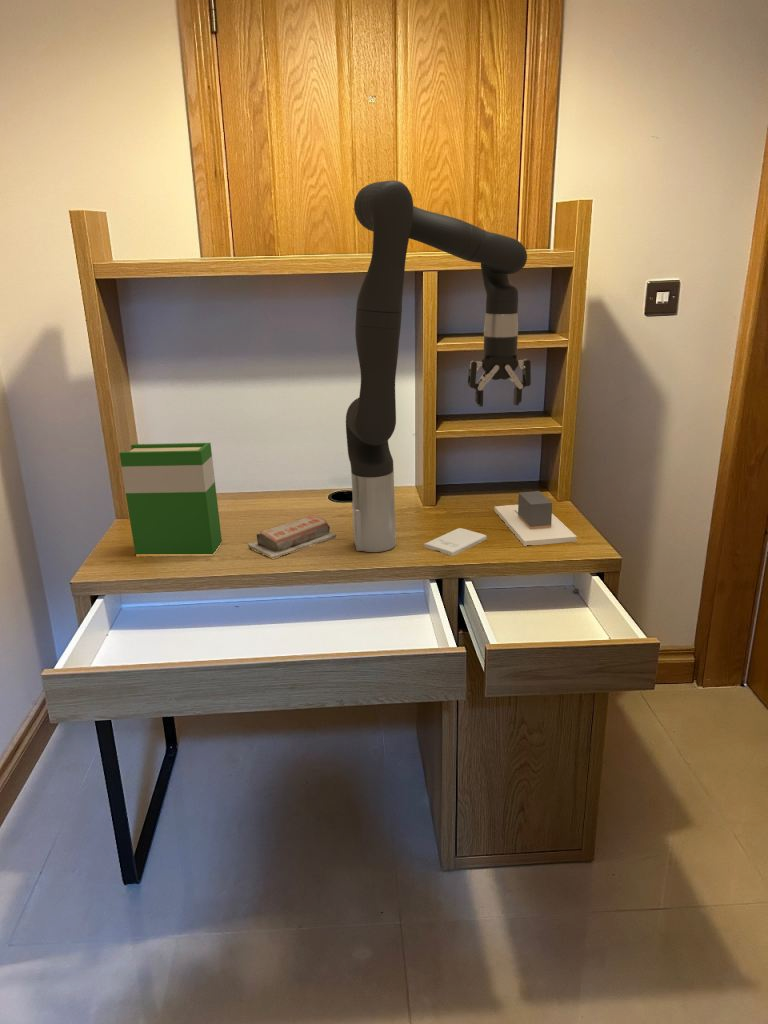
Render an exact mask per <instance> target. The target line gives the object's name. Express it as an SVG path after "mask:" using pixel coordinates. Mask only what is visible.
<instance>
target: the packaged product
mask: <svg viewBox="0 0 768 1024" xmlns="http://www.w3.org/2000/svg"><path fill="white" fill-rule="evenodd" d="M330 529H331V526H330V525H329V523H328V521H327V520H326V518H323V517H320V516H317V515H314V514H311V515H307V516H304V517H302V518H301V517H300V518H298V519H294V520H291V521H289V522H288V521H287V522H286V523H282V524H279V525H277V526H274V527H270V528H266V529H264V530H261V531H259V532H257V533H256V540H255V541H253V542H249V543H247V546H248V549H249V548H251V549H253V550H256V551H258V552H260V553H262V554H264V555H267V556H269V557H271V558H276V557H279V556H282V555H284V556H286V555H285V554H287V555H289V554H288V553H290V552H293V551H296V550H299V549H302V548H305V547H308V546H310V545H313V544H316V543H318V544H320V543H319V542H321V543H324V542H326V541H330V540H332V538H333V539H335V538H336V537H337V534H336V533H333V532H330V531H331V530H330ZM323 541H324V542H323ZM316 545H317V544H316ZM308 548H309V547H308ZM251 549H250V550H251ZM305 549H306V548H305ZM253 550H252V551H253ZM302 550H303V549H302ZM299 551H300V550H299ZM296 552H297V551H296ZM293 553H294V552H293ZM290 554H291V553H290ZM264 555H263V556H264ZM282 557H283V556H282Z"/></svg>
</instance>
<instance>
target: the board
mask: <svg viewBox="0 0 768 1024" xmlns="http://www.w3.org/2000/svg"><path fill="white" fill-rule="evenodd" d="M493 508H494V509H493V510H494V513H496V515H497V514H498V515H499V516H498V515H497V516H498V517H499V518H500V519H501V521H502V520H503V521H504V522H505V523H504V522H503V521H502V522H503V523H504V524H505V526H506V527H509V528H508V529H509V530H510V532H512V533H513V535H514V534H515V535H514V536H515V537H516V538H517V540H520V541H519V542H520V543H521V544H522V545H523V547H528V546H527V545H532V546H541V545H553V544H564V543H575V542H576V543H577V542H578V541H577V539H578V536H577V535H576V534H575V533H574V532H573V531H571V529H570V528H568V527H567V526H566V525H565V524H564V523H563V521H561V520H560V519H559V518H558V517H556V516H555V514H554V513H552V521H551V528H541V529H529V528H528V527H527V526H526V524H525V523H524V522H523V521H522V520H521V519H520V518H519V517H518V504H509V505H508V504H507V505H497V506H496V505H495V506H493Z"/></svg>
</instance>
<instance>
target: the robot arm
mask: <svg viewBox="0 0 768 1024" xmlns="http://www.w3.org/2000/svg"><path fill="white" fill-rule="evenodd" d="M353 204H354V205H353V206H354V207H353V210H354V215H355V217H356V219H357V221H358V222H359V224H360V225H361V226H362V227H363V228H365V229H366V230H369V231H370V232H372V234H373V235H372V237H373V238H372V253H371V259H370V263H369V265H368V269H367V272H366V274H365V277H364V279H363V281H362V283H361V287H360V289H359V293H358V295H357V302H356V308H355V309H356V311H355V324H354V325H355V326H354V330H355V336H354V337H355V345H356V351H357V358H358V363H359V369H360V385H359V386H360V387H359V388H360V389H359V395H358V396H359V397H357V398H356V399H354V400H353V401H352V402H351V403H350V404H349V406H348V408H347V411H346V414H345V433H346V443H347V444H346V445H347V454H348V455H347V456H348V459H349V464H350V471H351V474H350V475H351V488H352V489H351V490H352V491H351V493H352V503H351V506H352V509H351V510H352V511H351V512H352V513H351V514H352V529H353V530H352V532H353V542H354V547H355V549H356V552H366V553H381V552H387V551H389V550H392V549H393V548H395V547H396V546H397V534H396V531H397V529H396V506H395V505H396V504H395V503H396V501H395V475H394V473H395V472H394V458H393V455H392V454H391V450H390V447H389V446H390V445H389V440H390V439H391V437H392V436H393V434H394V432H395V430H396V425H397V408H396V407H397V405H396V402H397V401H396V376H397V367H398V366H397V365H398V359H399V358H398V357H399V349H400V347H399V344H400V337H401V329H402V325H401V324H402V316H403V315H402V312H403V310H402V309H403V293H404V284H405V270H406V259H407V252H408V247H409V241H410V240H412V241H415V242H419V243H422V244H424V245H427V246H429V247H433V248H434V249H437V250H439V251H442V252H445V253H447V254H449V255H452V256H454V257H456V258H459V259H462V260H464V261H467V262H471V263H479V264H480V270H481V275H482V280H483V286H484V290H485V293H486V294H485V295H486V300H485V301H486V302H485V318H484V325H483V326H484V327H483V357H482V360H481V361H475V360H473V359H472V360H470V361H469V363H468V373H467V374H468V375H467V386H468V387H470V388H471V389H474V390H475V395H474V396H475V398H474V399H475V400H474V401H475V403H476V404H477V406H478V407H480V408H481V407H484V390H483V389H484V388H485V386H486V385H487V384H489V382H490V381H491V380H493V381H497V380H504V381H505V380H508V379H509V380H510V382H512V384H513V385H514V388H513V401H512V404H513V405H515V406H519V405H520V403H522V398H523V397H522V396H523V389H524V388H526V387H529V386H531V384H532V381H531V380H532V375H531V368H532V367H531V360H530V359H528V358H523V359H518V337H519V336H518V335H519V319H518V318H519V317H518V316H519V315H518V311H519V291H518V288H517V287H516V286H514V285H512V284H511V283H510V280H509V276H508V275H513V274H516V273H518V272H520V271H521V270H523V269H524V267H526V266H525V265H526V264H527V260H528V253H527V250H526V247H525V246H524V244H523V243H522V242H520V241H519V240H518V239H515V238H513V237H509V236H507V235H503V234H499V233H495V232H490V231H488V230H485V229H483V228H481V227H478V226H476V225H473V224H472V223H469V222H467V221H465V220H462V219H459V218H457V217H453V216H449V215H444V214H440V213H436V212H433V211H429V210H425V209H423V208H420V207H417V206H415V205H414V200H413V196H412V194H411V191H410V189H409V188H408V187H407V186H406V184H404V182H402V181H400V180H383V181H377V182H372V183H370V184H369V183H368V184H367V185H366V186H365V185H364V187H362V188H361V189H360V190H359V191H358V193H357V194H356V195H355V199H354V203H353ZM480 367H481V368H482V369H483V371H484V372H483V373H482V374H481V376H480V378H479V379H478V381H477V382H476V380H477V372H478V371H479V370H480ZM518 367H519V369H521V371H522V373H521V374H522V377H521V378H522V380H521V381H520V378H519V377H518V376H517V374H516V373H515V371H516V369H517V368H518Z"/></svg>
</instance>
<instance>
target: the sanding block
mask: <svg viewBox="0 0 768 1024" xmlns="http://www.w3.org/2000/svg"><path fill="white" fill-rule="evenodd" d="M517 505H518V517H519V518H520V519H521V520H522V521H523V522H524V523H525V524H526V526H527V527H528V528H529V529H541V528H551V521H552V514H553V502H552V501H551V500H550V499H549V498H548V497H546V496H545V495H544V494H543V492H541V491H540V490H535V491H524V492H522V491H521V492H518V504H517Z"/></svg>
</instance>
